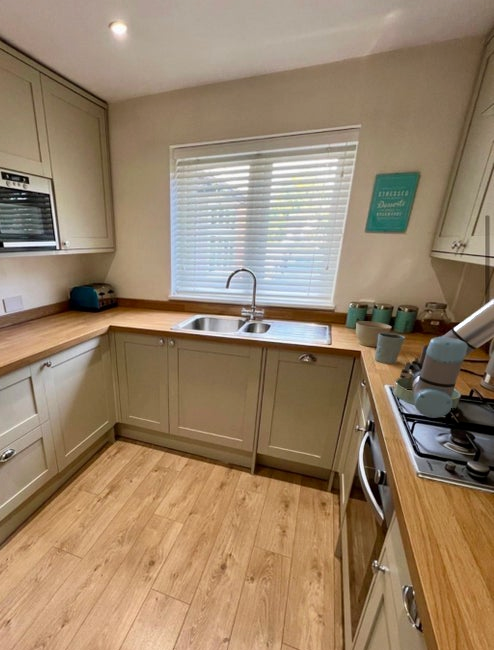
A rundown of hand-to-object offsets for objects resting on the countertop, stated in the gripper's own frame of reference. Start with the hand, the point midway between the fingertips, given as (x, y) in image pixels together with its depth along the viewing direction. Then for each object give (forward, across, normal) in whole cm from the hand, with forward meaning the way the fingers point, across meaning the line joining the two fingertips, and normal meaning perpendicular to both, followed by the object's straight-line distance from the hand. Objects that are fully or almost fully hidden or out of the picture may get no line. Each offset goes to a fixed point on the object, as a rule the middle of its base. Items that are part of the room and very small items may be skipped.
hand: (422, 362), depth 113 cm
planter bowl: (+63, -17, -12) cm, 66 cm away
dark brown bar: (-8, 0, -8) cm, 11 cm away
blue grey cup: (+37, -9, -12) cm, 40 cm away
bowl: (-3, +3, -12) cm, 12 cm away
